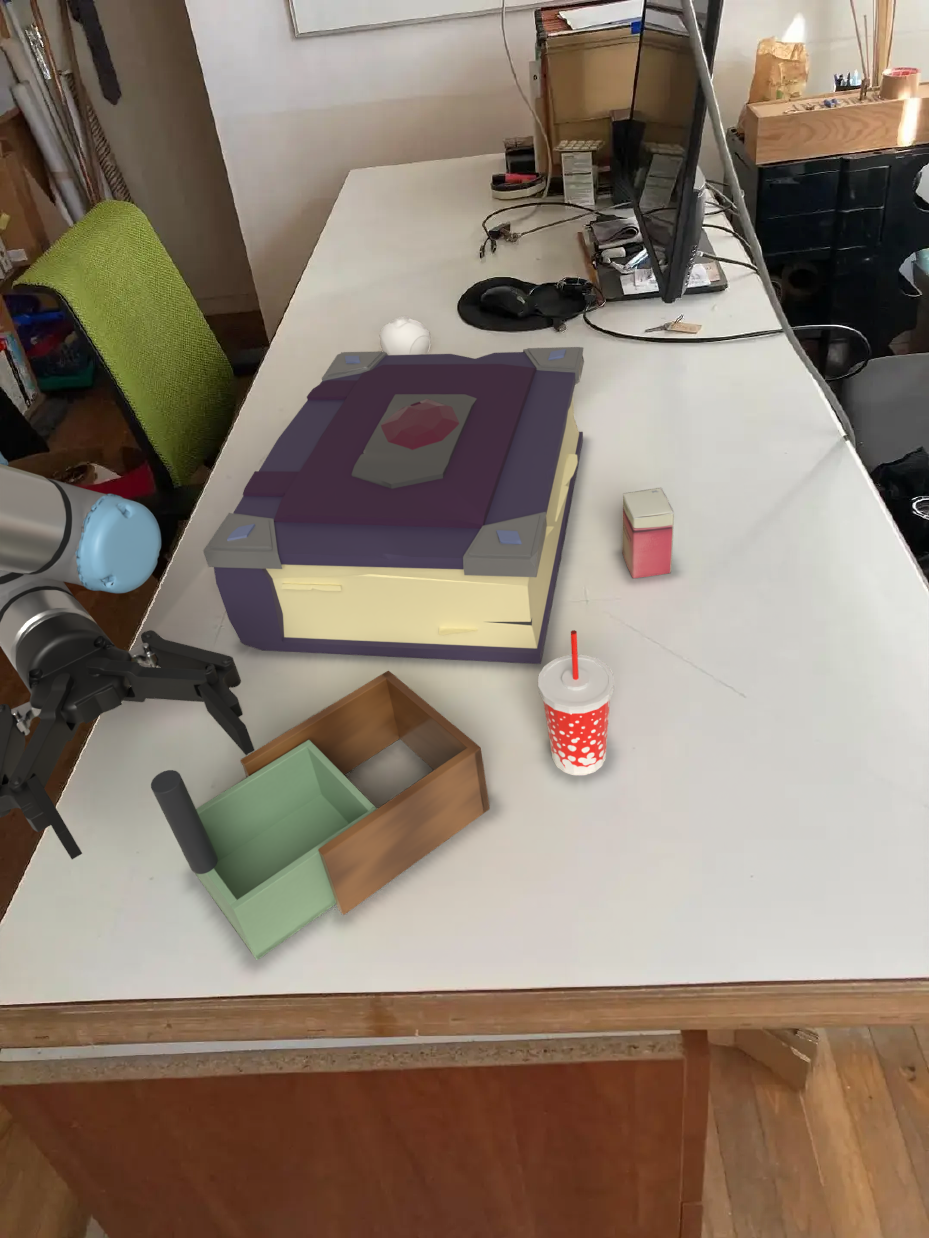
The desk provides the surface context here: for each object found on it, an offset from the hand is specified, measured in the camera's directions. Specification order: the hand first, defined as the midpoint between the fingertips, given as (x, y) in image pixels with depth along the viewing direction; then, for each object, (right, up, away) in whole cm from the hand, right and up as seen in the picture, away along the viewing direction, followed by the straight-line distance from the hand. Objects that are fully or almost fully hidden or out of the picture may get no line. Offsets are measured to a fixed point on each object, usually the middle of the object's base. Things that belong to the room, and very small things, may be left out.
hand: (161, 790), depth 66 cm
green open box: (+8, -8, +8) cm, 14 cm away
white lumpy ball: (+13, +52, +81) cm, 97 cm away
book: (+17, +22, +44) cm, 52 cm away
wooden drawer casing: (+14, -4, +12) cm, 19 cm away
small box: (+41, +18, +34) cm, 56 cm away
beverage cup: (+31, 0, +14) cm, 34 cm away
